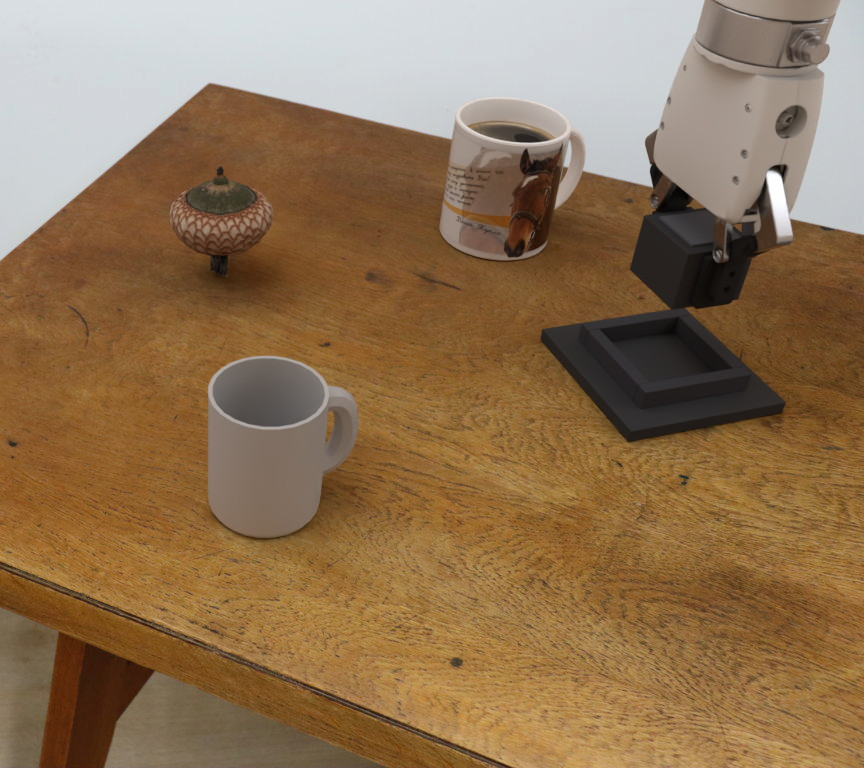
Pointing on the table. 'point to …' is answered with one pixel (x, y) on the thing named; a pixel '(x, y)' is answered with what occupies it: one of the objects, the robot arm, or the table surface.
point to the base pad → (660, 373)
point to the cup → (273, 443)
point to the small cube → (676, 253)
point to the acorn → (220, 219)
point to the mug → (507, 176)
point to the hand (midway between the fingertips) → (685, 278)
